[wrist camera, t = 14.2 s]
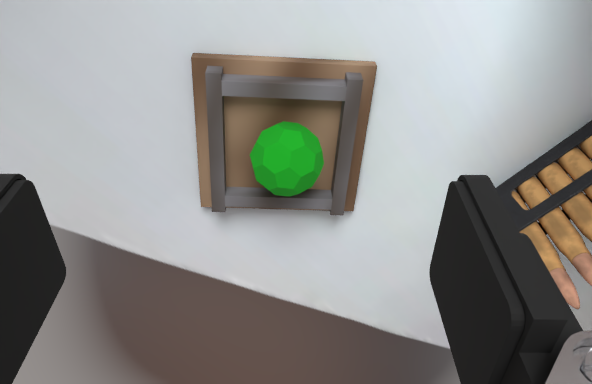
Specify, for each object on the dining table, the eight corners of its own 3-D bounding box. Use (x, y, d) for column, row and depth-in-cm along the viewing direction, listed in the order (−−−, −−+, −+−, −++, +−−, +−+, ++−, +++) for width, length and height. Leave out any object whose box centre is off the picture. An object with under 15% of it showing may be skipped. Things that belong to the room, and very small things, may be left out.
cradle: (374, 61, 33) (380, 73, 31) (352, 205, 40) (355, 220, 38) (192, 53, 32) (188, 64, 30) (202, 200, 39) (199, 216, 37)
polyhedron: (236, 141, 35) (232, 179, 31) (285, 96, 33) (286, 130, 29) (286, 181, 37) (288, 221, 33) (334, 141, 35) (342, 178, 31)
